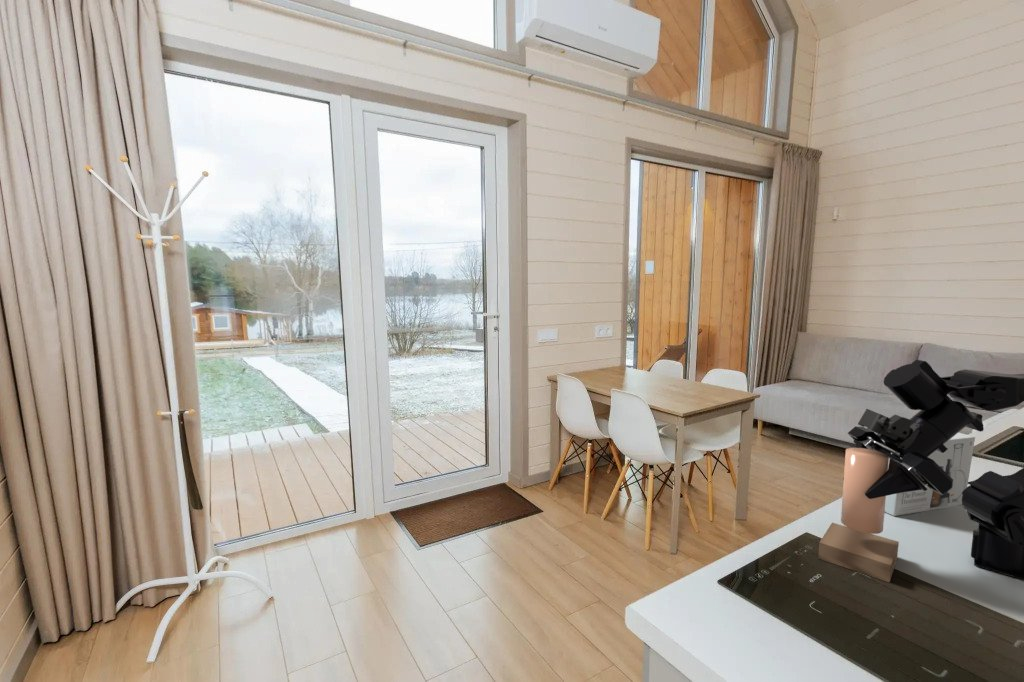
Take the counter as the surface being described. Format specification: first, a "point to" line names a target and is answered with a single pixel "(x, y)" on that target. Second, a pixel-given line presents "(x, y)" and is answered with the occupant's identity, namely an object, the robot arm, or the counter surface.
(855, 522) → the canister
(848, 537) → the podium
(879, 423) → the robot arm
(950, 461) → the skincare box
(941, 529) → the counter surface
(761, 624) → the counter surface
